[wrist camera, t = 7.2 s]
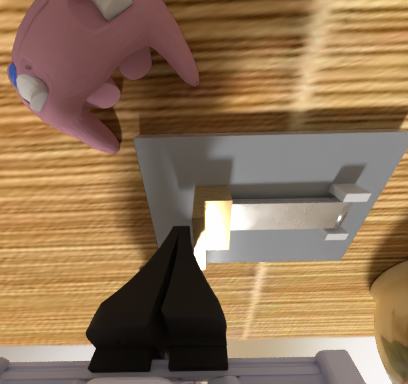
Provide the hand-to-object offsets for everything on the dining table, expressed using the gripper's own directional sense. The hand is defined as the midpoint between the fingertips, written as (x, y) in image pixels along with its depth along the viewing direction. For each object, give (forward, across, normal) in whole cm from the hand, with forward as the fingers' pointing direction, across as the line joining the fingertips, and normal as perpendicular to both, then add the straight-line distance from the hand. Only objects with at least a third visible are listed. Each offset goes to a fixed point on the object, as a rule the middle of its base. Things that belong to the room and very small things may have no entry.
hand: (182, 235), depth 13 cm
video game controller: (+5, +4, -10) cm, 12 cm away
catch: (+3, -2, 0) cm, 4 cm away
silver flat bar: (+3, -9, 0) cm, 9 cm away
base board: (+5, -7, 0) cm, 9 cm away
